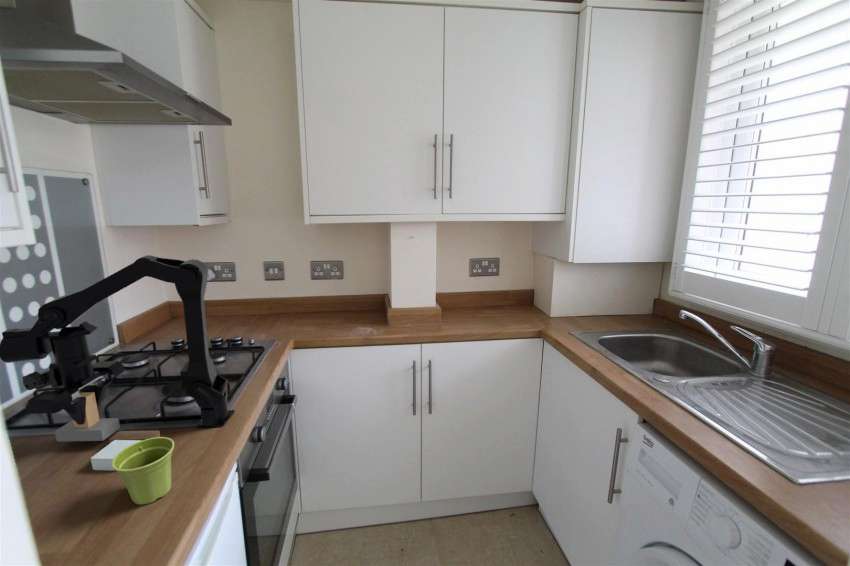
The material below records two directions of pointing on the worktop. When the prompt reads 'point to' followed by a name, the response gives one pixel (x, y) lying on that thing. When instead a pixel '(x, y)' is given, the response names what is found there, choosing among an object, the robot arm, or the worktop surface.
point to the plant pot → (146, 468)
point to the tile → (110, 454)
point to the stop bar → (134, 435)
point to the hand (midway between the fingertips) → (87, 419)
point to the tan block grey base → (88, 424)
